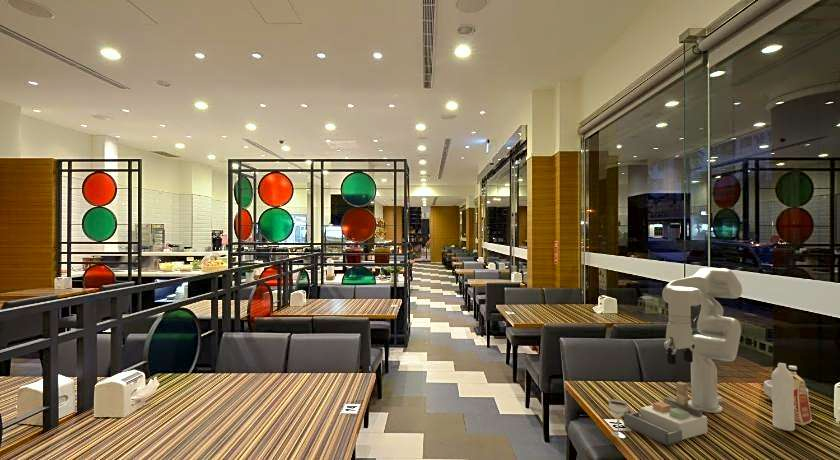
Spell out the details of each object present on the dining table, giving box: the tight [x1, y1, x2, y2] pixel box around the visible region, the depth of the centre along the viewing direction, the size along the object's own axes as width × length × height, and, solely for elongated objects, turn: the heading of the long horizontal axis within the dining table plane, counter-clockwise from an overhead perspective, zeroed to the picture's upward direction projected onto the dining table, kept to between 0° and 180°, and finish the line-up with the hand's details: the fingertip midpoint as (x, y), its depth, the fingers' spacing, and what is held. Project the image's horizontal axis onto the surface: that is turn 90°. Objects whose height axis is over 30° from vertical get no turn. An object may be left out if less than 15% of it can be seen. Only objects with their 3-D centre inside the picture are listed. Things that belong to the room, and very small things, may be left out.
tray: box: [623, 411, 683, 447], centre depth 156 cm, size 8×18×5 cm, turn 23°
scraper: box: [662, 381, 703, 417], centre depth 164 cm, size 3×14×10 cm, turn 23°
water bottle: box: [771, 362, 798, 432], centre depth 161 cm, size 9×6×25 cm
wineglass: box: [608, 398, 629, 439], centre depth 155 cm, size 7×7×12 cm
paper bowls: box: [763, 379, 810, 401], centre depth 187 cm, size 15×15×8 cm
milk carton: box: [789, 370, 813, 426], centre depth 170 cm, size 9×9×20 cm
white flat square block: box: [639, 404, 708, 441], centre depth 161 cm, size 16×16×6 cm
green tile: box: [669, 408, 689, 419], centre depth 157 cm, size 4×4×2 cm
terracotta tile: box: [652, 401, 671, 412], centre depth 164 cm, size 4×4×2 cm
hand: (680, 362), depth 164 cm, fingers open, 9 cm apart
